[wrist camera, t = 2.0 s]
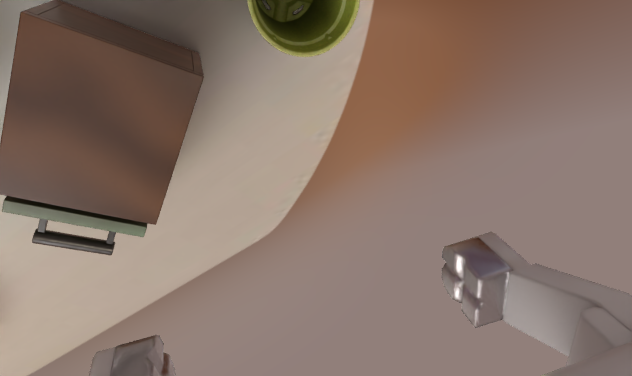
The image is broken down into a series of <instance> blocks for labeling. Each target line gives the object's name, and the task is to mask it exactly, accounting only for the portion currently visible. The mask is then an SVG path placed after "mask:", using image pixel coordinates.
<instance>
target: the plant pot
mask: <svg viewBox="0 0 632 376" xmlns="http://www.w3.org/2000/svg"><path fill="white" fill-rule="evenodd" d="M247 2H248V8H249V12H250V15H251V18H252V20H253V22H254V24H255V26H256V28H257V30H258V31H259V33H260V34H261V35H262V36H263V38H264V39H265V40H266V41H267V42H268V43H269V44H271V45H272V46H273V47H275V48H276V49H278V50H279V51H281V52H284V53H286V54H289V55H292V56H297V57H311V56H316V55H319V54H322V53H325V52H327V51H329V50H330V49H332V48H333V47H335V46H336V45H337V44H338V43H340V42H341V41H342V40H343V38H344V37H345V36H346V35H347V33H348V32H349V30H350V29H351V27H352V25H353V23H354V21H355V18H356V16H357V13H358V8H359V3H360V0H266V2H267V4H268V5H269V6H270V8H271V10H268V9H266V7H265V5H264V4H263V2H262V0H247ZM302 5H303V9H302V10H301V11H300V12H299V13H298V14H296V15H295V14H294V15H293V12H294V11H296V10H297V9H299V8H300V7H301V6H302Z"/></svg>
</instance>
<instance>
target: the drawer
mask: <svg viewBox="0 0 632 376" xmlns="http://www.w3.org/2000/svg"><path fill="white" fill-rule="evenodd" d="M2 212H7V213H13V214H18V215H24V216H29V217H35V218H40V221H39V226H38V229H36V230H35V233H34V235H33V239H32V243H36V244H43V245H49V246H55V247H61V248H68V249H74V250H80V251H87V252H93V253H99V254H106V255H112V253H113V249H114V245H115V242H113V241H114V237H115V234H116V232H117V233H123V234H128V235H134V236H139V237H144V235H145V232H146V228H147V223H144V222H139V221H134V220H129V219H123V218H118V217H113V216H108V215H103V214H98V213H93V212H88V211H82V210H77V209H72V208H67V207H62V206H57V205H52V204H47V203H42V202H36V201H31V200H26V199H21V198H16V197H11V196H7V197H6V198H5V199H4V203H3V209H2ZM48 220H51V221H57V222H62V223H68V224H73V225H79V226H84V227H90V228H95V229H101V230H106V231H109V234H108V238H107V240H101V239H95V238H90V237H84V236H78V235H72V234H66V233H60V232H55V231H49V230H46V227H47V223H48Z"/></svg>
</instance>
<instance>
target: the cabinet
mask: <svg viewBox="0 0 632 376" xmlns="http://www.w3.org/2000/svg"><path fill="white" fill-rule="evenodd" d="M203 78H204V76H203V70H202V65H201V60H200V55H199V53H198V52H195V51H192V50H190V49H187V48H185V47H182V46H179V45H177V44H174V43H171V42H169V41H166V40H163V39H161V38H158V37H155V36H153V35H150V34H147V33H145V32H142V31H140V30H137V29H134V28H132V27H129V26H126V25H124V24H121V23H118V22H116V21H113V20H110V19H108V18H105V17H103V16H100V15H97V14H95V13H92V12H89V11H87V10H84V9H81V8H79V7H76V6H73V5H71V4H68V3H65V2H63V1H60V0H52V1H49V2H47V3H44V4H41V5H39V6H36V7H33V8H30V9H28V10H25V11H22V12H21V13H20V20H19V26H18V33H17V39H16V46H15V52H14V59H13V65H12V72H11V78H10V85H9V91H8V98H7V104H6V111H5V117H4V124H3V130H2V137H1V143H0V194H1V195H6V196H11V197H16V198H21V199H26V200H31V201H36V202H42V203H47V204H52V205H57V206H62V207H67V208H72V209H77V210H82V211H88V212H93V213H98V214H103V215H108V216H113V217H118V218H123V219H129V220H134V221H139V222H144V223H149V224H154V225H156V223H157V220H158V217H159V214H160V211H161V207H162V204H163V201H164V198H165V195H166V192H167V189H168V186H169V183H170V180H171V177H172V174H173V170H174V167H175V164H176V161H177V158H178V155H179V152H180V149H181V146H182V143H183V140H184V137H185V133H186V130H187V127H188V124H189V121H190V118H191V115H192V112H193V109H194V106H195V103H196V100H197V96H198V93H199V90H200V87H201V84H202V81H203Z"/></svg>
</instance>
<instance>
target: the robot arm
mask: <svg viewBox="0 0 632 376" xmlns="http://www.w3.org/2000/svg"><path fill="white" fill-rule="evenodd" d="M442 258H443V259H444V260H445V261H446V263H445V265H444V267H443V268H442V280H443V283H444V287H445V288H446V290H447V292H448V294H449V295H450V297H451V298H452V299H453V300H455V301H457V302H460V303H462V312H463V313H464V314H465V316H466V317H467V318H468V319H469V321H470V322H471V323H472V324H473V326H474V327H475V328H477V327H480V326H483V325H486V324H489V323H493V322H496V321H499V320H502V319H503V321H504V322H505V323H508V324H509V325H511V326H513V327H515V328H517V329H519V330H520V331H522V332H524V333H526V334H528V335H530V336H531V337H533V338H535V339H537V340H539V341H541V342H543V343H544V344H546V345H548V346H550V347H552V348H554V349H556V350H558V351H559V352H561V353H563V354H565V355H567V356H568V360H567V364H566V366H565V367H563V368H560V369H557V370H555V371H552V372H549V373H547V374H544V375H542V376H632V296H631V295H630V294H628V293H626V292H623V291H620V290H616V289H613V288H610V287H607V286H604V285H601V284H598V283H595V282H592V281H588V280H585V279H582V278H579V277H576V276H573V275H570V274H567V273H564V272H560V271H557V270H554V269H551V268H548V267H545V266H542V265H539V264H532V265H531V264H529V263H528V262H527V261H526V260H525V259H524V258H523V257H521V256H520V255H519V254H518V253H517V252H516V251H515V250H513V249H512V248H511V247H510V246H509V245H508V244H507V243H506V242H504V241H503V240H502V239H501V238H500V237H499V236H497V235H496V234H495V233H493V232H489V233H486V234H483V235H479V236H477V237H475V238H470V239H467V240H464V241H461V242H458V243H454V244H451V245H448V246H445V247H444V249H443V251H442ZM163 351H164V343H163V341H162V340H161V338H160V336H159V335H155V336H151V337H147V338H144V339H140V340H136V341H133V342H129V343H126V344H122V345H119V346H117V347H113V348H109V349H106V350H102V351H99V352H97V353H96V354H95V356H94V357H93V360H92V364H91V369H90V373H89V376H176V374H175V369H174V365H173V362H172V360H171V358H170V356H169V355H168V354H166V353H164V352H163Z"/></svg>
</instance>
